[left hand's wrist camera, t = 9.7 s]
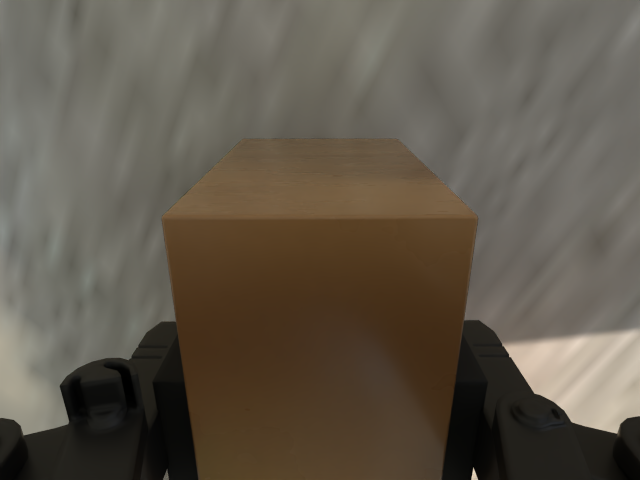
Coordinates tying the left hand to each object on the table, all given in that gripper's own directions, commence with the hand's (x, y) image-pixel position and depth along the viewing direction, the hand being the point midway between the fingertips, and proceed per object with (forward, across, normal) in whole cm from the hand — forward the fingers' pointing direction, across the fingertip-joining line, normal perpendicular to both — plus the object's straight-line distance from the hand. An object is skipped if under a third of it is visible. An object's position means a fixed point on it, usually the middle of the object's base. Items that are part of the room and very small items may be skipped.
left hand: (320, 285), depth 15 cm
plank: (+1, 0, -24) cm, 24 cm away
